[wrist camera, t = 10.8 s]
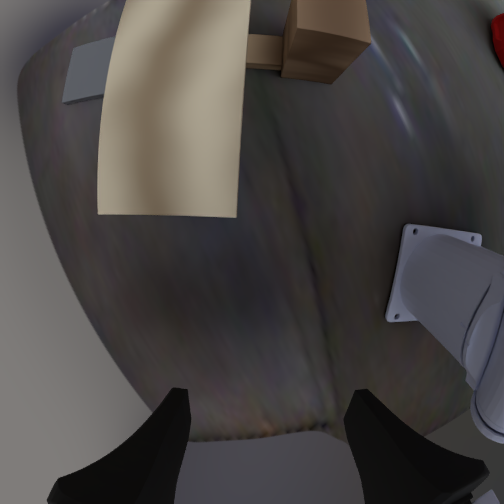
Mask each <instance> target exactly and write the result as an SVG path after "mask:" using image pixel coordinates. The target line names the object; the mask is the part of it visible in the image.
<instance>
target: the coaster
mask: <svg viewBox="0 0 504 504" xmlns="http://www.w3.org/2000/svg"><path fill="white" fill-rule="evenodd" d="M115 38H116V36H115V37H111V38H107V39H103V40H99V41H95V42H92V43H88V44H85V45H82V46H79V47H75V48H74V49H73V53H72V57H71V60H70V64H69V69H68V73H67V78H66V82H65V87H64V93H63V98H62V103H64V104H67V105H69V104H73V103H78V102H83V101H87V100H93V99H98V98H104V93H105V87H106V81H107V75H108V70H109V65H110V60H111V55H112V51H113V46H114V42H115Z"/></svg>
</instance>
